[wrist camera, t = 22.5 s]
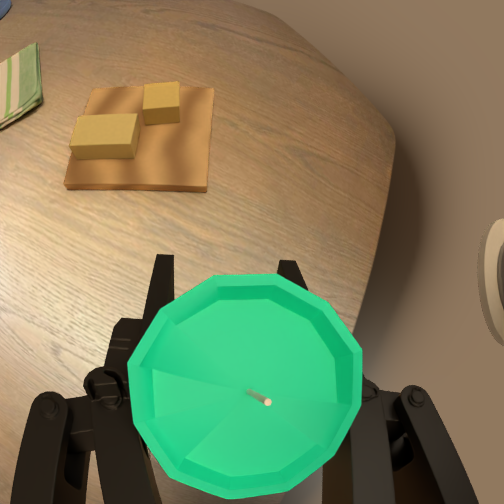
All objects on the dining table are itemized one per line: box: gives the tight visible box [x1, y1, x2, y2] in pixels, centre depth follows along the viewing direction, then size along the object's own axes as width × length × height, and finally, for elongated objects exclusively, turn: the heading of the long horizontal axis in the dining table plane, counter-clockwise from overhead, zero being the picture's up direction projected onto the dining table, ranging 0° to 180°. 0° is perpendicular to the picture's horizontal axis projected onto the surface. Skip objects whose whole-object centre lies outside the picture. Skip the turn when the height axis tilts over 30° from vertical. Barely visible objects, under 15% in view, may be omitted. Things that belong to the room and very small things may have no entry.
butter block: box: [69, 114, 141, 160], centre depth 29 cm, size 7×4×3 cm, turn 90°
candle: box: [127, 274, 362, 499], centre depth 11 cm, size 6×6×12 cm
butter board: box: [64, 86, 214, 192], centre depth 32 cm, size 16×14×2 cm
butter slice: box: [143, 81, 180, 125], centre depth 31 cm, size 4×4×3 cm
